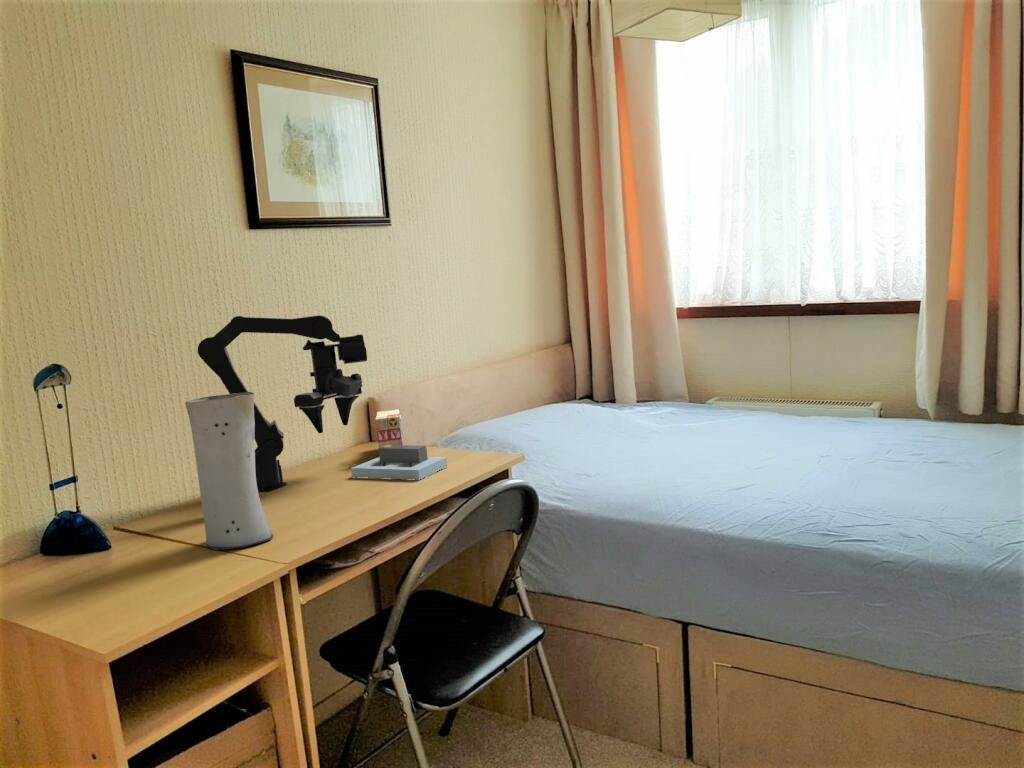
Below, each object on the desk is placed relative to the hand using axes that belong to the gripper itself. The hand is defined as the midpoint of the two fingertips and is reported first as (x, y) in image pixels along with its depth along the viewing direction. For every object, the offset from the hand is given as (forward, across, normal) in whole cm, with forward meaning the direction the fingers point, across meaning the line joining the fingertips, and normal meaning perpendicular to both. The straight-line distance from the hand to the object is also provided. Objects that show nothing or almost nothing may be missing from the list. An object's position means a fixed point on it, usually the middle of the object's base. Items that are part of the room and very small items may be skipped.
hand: (333, 429), depth 192 cm
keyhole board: (+12, +5, -15) cm, 20 cm away
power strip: (+12, +7, -15) cm, 20 cm away
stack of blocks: (+12, +23, 0) cm, 26 cm away
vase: (+12, -44, -14) cm, 48 cm away
